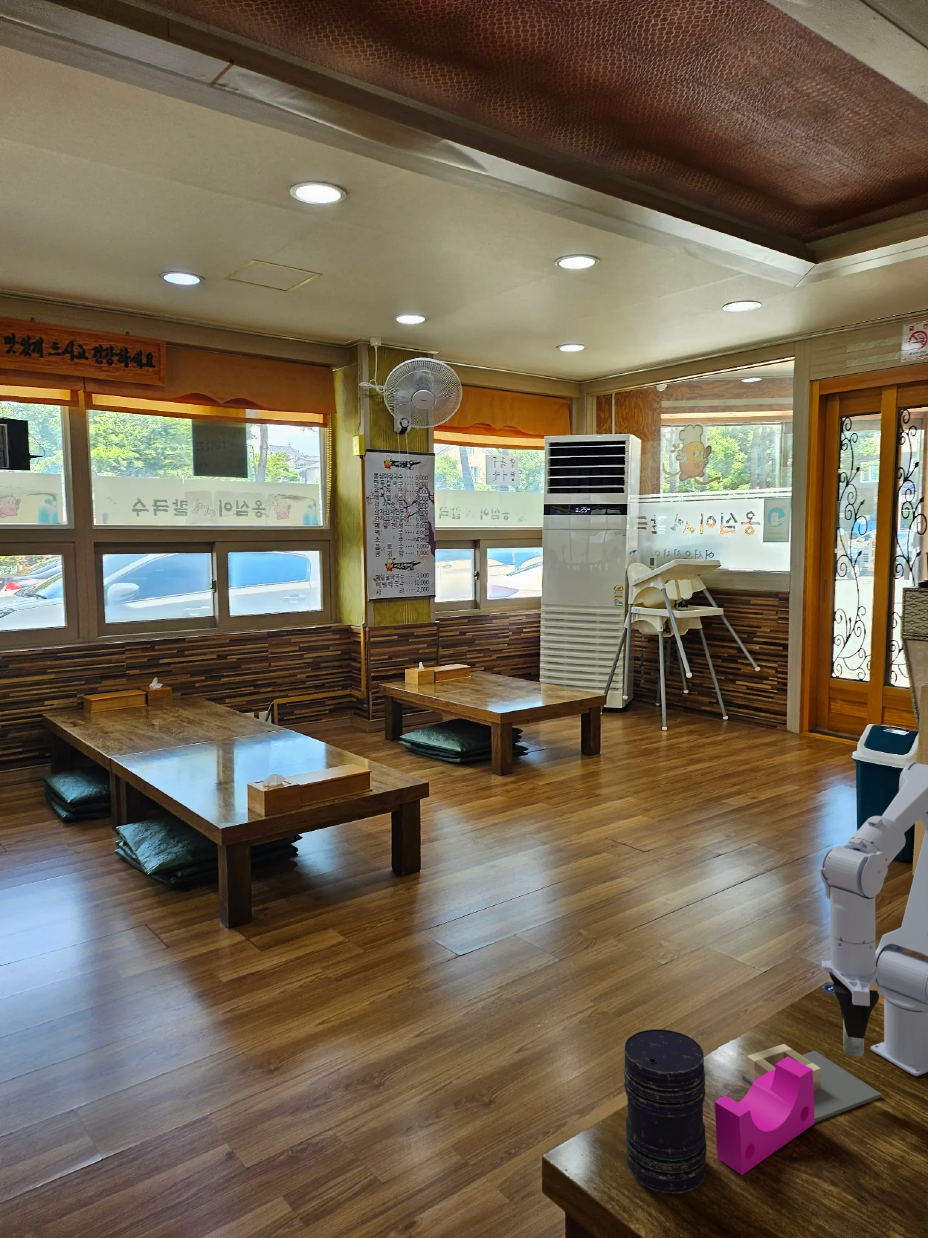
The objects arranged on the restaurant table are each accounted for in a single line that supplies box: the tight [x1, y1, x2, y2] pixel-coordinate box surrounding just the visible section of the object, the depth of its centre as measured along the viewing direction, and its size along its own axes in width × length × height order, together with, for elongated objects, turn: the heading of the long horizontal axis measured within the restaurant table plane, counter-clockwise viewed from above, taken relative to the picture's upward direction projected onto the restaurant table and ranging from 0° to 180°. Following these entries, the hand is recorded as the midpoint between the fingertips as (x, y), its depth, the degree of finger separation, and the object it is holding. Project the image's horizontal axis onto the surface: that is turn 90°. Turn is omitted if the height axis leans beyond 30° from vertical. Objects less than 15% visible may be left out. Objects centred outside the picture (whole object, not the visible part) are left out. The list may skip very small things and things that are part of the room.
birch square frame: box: [746, 1043, 821, 1092], centre depth 123 cm, size 7×7×3 cm
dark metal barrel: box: [623, 1028, 707, 1194], centre depth 107 cm, size 10×10×15 cm
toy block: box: [714, 1057, 816, 1176], centre depth 112 cm, size 15×6×8 cm, turn 125°
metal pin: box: [842, 1018, 865, 1058], centre depth 119 cm, size 3×3×8 cm
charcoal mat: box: [741, 1050, 882, 1123], centre depth 122 cm, size 14×12×1 cm
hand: (853, 1030), depth 120 cm, fingers closed on metal pin, 3 cm apart
